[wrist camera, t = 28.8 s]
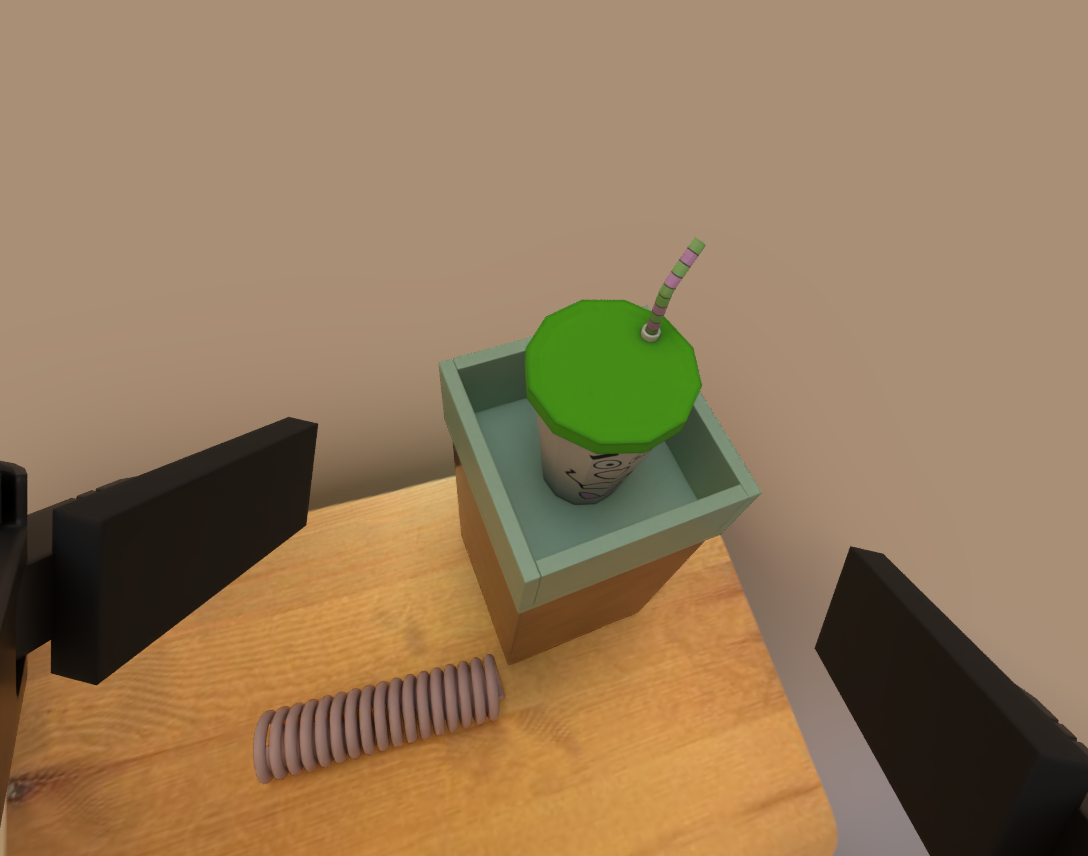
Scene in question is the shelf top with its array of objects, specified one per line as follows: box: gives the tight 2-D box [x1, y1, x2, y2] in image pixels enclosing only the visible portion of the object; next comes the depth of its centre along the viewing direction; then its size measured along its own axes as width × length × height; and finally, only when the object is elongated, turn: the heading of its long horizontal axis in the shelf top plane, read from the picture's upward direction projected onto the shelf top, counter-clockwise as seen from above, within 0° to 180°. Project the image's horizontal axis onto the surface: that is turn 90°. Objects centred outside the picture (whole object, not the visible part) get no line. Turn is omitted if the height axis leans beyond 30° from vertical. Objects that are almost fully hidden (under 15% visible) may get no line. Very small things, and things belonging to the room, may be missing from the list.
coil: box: [253, 654, 505, 784], centre depth 45 cm, size 5×5×18 cm
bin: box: [439, 305, 762, 614], centre depth 34 cm, size 13×13×6 cm
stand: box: [453, 443, 704, 665], centre depth 45 cm, size 12×12×20 cm
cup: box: [524, 238, 705, 505], centre depth 29 cm, size 8×8×15 cm
